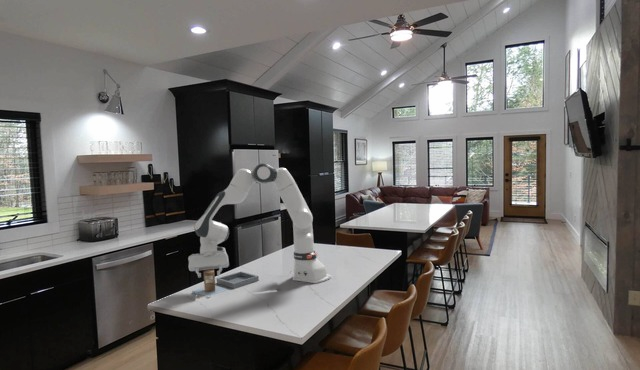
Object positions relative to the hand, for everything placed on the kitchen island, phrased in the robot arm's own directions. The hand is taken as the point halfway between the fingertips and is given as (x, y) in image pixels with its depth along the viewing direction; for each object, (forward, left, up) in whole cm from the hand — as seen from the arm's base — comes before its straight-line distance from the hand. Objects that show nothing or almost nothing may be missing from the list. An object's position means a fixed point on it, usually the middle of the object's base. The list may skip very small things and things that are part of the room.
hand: (209, 275), depth 196 cm
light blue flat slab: (0, 0, -9) cm, 9 cm away
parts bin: (0, -17, -9) cm, 19 cm away
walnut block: (0, 0, -8) cm, 8 cm away
